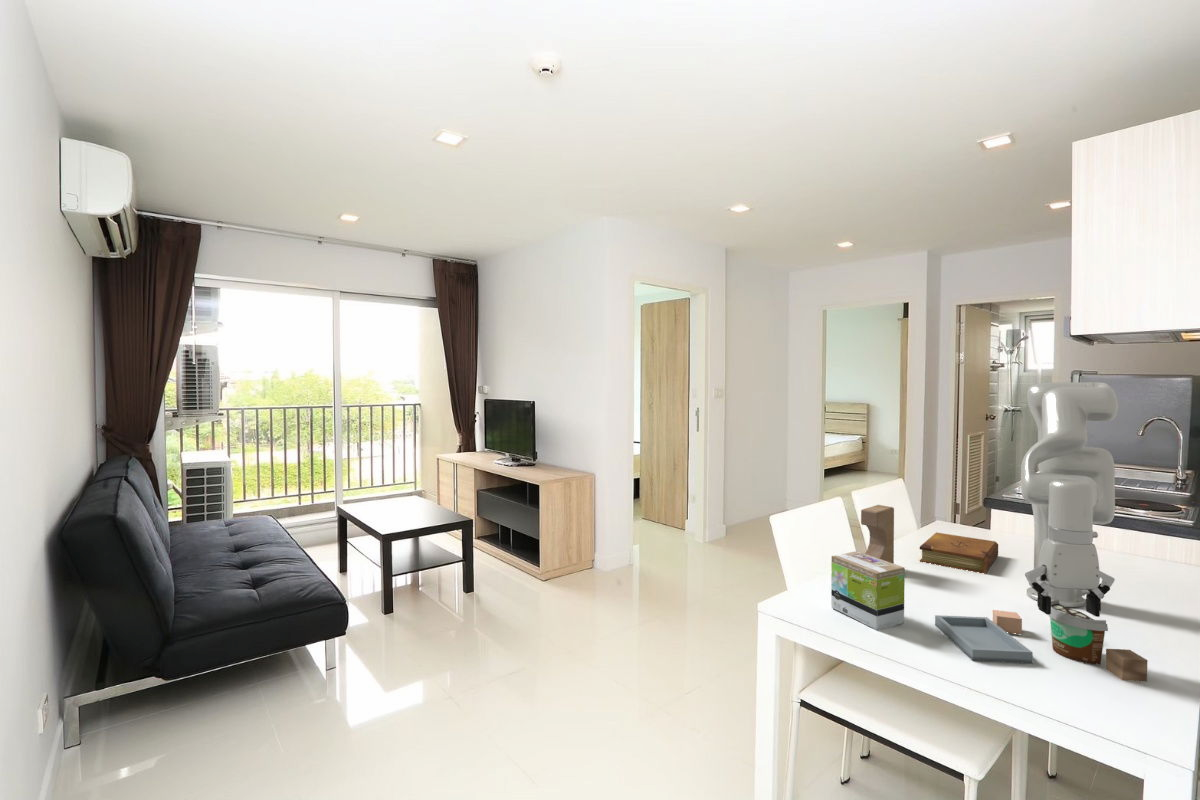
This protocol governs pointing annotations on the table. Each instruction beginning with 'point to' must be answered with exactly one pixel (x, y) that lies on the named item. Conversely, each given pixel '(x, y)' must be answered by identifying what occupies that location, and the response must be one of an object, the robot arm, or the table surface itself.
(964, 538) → the diary
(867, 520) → the decorative block
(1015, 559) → the table surface
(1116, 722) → the table surface
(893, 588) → the tea box
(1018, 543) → the table surface
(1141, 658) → the walnut cube
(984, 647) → the tray
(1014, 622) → the terracotta block
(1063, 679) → the table surface
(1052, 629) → the food container
